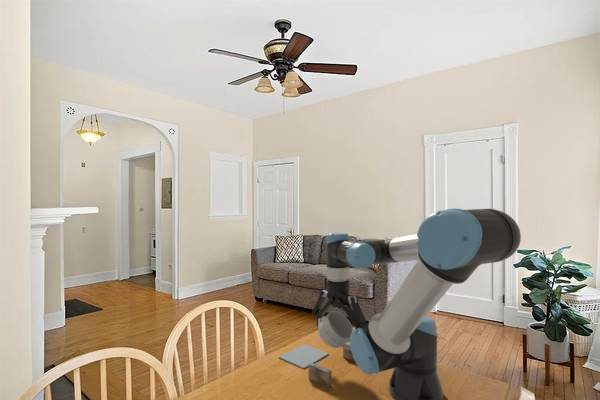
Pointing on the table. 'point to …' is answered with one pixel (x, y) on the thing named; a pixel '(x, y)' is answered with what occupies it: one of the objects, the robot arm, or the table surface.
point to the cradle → (326, 370)
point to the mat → (303, 356)
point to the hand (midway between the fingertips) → (338, 342)
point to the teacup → (335, 330)
